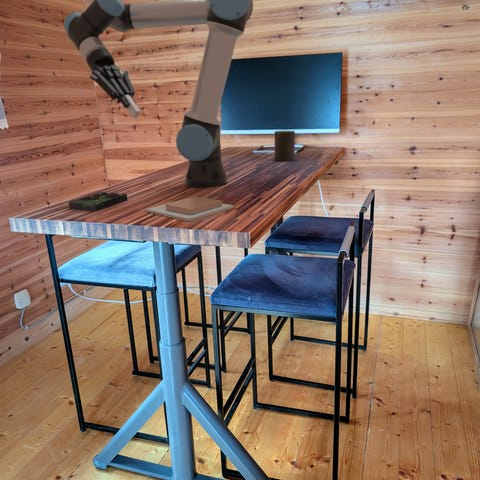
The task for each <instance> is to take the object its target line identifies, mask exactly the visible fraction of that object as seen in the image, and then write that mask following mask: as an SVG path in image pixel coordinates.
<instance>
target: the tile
mask: <svg viewBox="0 0 480 480" xmlns="http://www.w3.org/2000/svg"><path fill="white" fill-rule="evenodd" d="M189 198H190V199H188V198H185V199H186V200H184V199H181V200H182V201H180V200H177V201H178V202H176V201H173V202H174V203H172V202H169V203H170V204H168V203H165V204H166V210H167V211H172V212H177V213H182V214H187V215H194V214H197V213H201V212H204V211H208V210H211V209H215V208H218V207H221V206H222V204H223V200H221V199H213V198H207V197H201V196H193V197H189Z"/></svg>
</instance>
